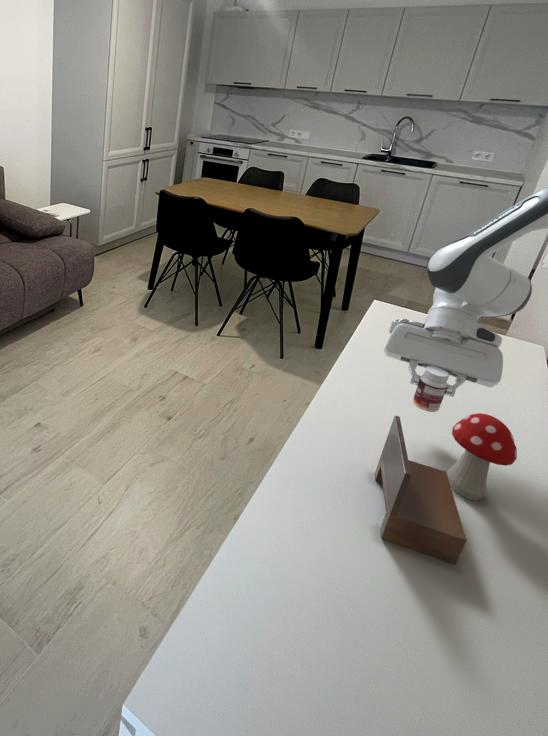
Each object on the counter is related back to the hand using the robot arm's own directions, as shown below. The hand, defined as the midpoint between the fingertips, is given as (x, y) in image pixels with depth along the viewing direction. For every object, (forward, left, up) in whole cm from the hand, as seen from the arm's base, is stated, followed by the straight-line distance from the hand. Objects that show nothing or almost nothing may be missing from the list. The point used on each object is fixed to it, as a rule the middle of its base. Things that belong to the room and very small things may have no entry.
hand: (431, 389), depth 101 cm
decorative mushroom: (-6, +15, -10) cm, 19 cm away
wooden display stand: (+4, +27, -10) cm, 29 cm away
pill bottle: (0, -1, -5) cm, 5 cm away
